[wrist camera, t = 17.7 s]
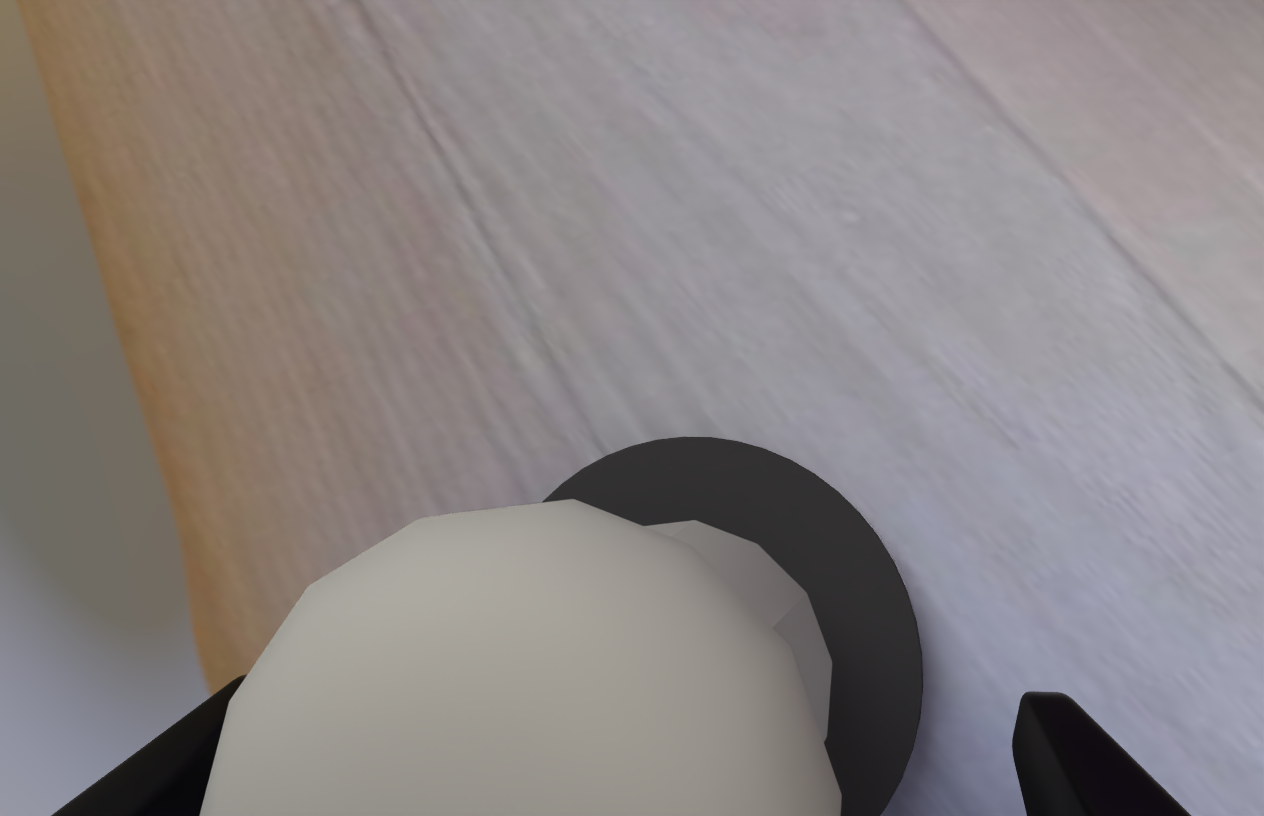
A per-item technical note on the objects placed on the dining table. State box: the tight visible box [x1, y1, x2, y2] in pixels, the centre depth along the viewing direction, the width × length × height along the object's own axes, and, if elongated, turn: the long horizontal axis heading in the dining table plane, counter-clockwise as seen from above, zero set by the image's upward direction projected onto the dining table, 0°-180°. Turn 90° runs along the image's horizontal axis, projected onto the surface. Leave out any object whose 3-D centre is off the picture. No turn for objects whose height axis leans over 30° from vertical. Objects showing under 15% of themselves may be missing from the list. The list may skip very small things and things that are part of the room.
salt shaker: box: [199, 499, 842, 816], centre depth 10 cm, size 6×6×13 cm
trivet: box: [542, 437, 923, 816], centre depth 17 cm, size 10×10×1 cm
